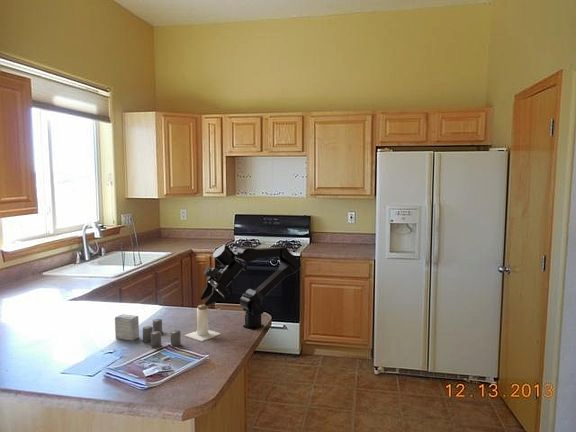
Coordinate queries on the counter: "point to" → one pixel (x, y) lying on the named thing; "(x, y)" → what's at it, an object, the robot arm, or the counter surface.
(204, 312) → the jar
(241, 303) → the robot arm
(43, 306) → the counter surface
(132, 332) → the medicine box
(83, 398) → the counter surface
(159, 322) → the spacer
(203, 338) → the mat
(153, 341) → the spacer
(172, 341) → the spacer
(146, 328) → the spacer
